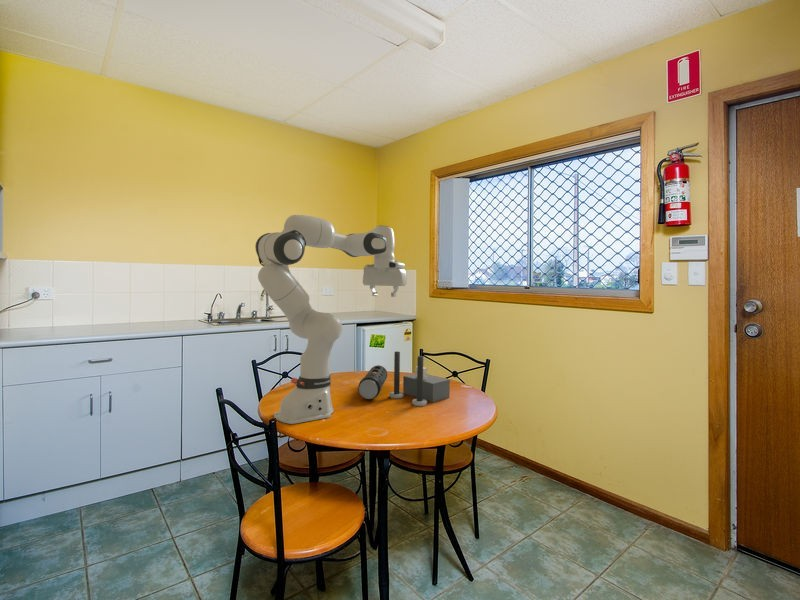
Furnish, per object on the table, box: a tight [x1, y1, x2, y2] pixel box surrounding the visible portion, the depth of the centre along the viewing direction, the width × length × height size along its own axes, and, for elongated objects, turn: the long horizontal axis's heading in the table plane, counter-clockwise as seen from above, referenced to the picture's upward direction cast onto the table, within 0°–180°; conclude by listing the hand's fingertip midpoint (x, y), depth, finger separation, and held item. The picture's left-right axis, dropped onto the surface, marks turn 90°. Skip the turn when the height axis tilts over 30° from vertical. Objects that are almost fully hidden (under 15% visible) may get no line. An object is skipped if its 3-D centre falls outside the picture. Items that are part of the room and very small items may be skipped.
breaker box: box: [402, 373, 451, 403], centre depth 186 cm, size 11×18×8 cm, turn 44°
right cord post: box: [411, 355, 428, 407], centre depth 173 cm, size 6×6×20 cm
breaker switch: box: [414, 366, 428, 380], centre depth 183 cm, size 2×5×5 cm, turn 44°
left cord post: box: [389, 351, 404, 400], centre depth 183 cm, size 6×6×20 cm
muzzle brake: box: [357, 364, 388, 400], centre depth 188 cm, size 10×28×10 cm, turn 174°
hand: (384, 296), depth 179 cm, fingers open, 8 cm apart
